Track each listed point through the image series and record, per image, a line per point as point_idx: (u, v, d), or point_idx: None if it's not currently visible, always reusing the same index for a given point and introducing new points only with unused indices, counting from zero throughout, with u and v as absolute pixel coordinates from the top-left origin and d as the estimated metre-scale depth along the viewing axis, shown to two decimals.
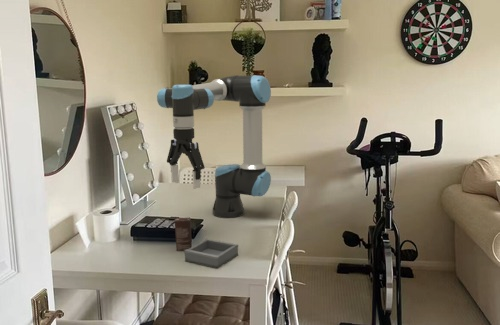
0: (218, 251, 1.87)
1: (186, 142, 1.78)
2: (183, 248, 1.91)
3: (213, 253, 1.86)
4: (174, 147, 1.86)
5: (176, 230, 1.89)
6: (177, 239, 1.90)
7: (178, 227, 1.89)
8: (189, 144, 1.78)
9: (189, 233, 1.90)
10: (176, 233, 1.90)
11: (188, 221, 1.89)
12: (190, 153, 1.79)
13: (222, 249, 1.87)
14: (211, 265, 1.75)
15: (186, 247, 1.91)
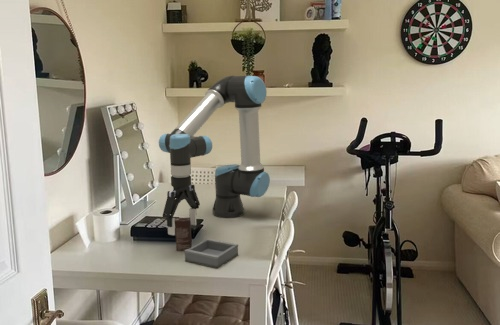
0: (218, 251, 1.87)
1: None
2: (183, 248, 1.91)
3: (213, 253, 1.86)
4: (190, 192, 1.94)
5: (176, 230, 1.89)
6: (177, 239, 1.90)
7: (178, 227, 1.89)
8: None
9: (189, 233, 1.90)
10: (176, 233, 1.90)
11: (188, 221, 1.89)
12: (174, 200, 1.86)
13: (222, 249, 1.87)
14: (211, 265, 1.75)
15: (186, 247, 1.91)
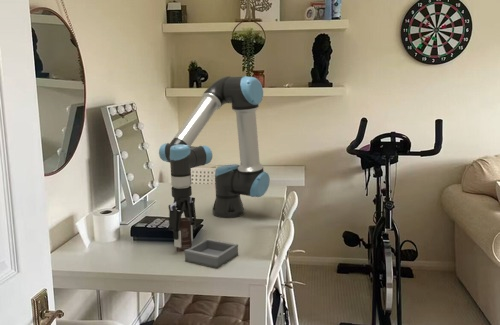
0: (218, 251, 1.87)
1: None
2: (183, 248, 1.91)
3: (213, 253, 1.86)
4: (190, 205, 1.94)
5: None
6: None
7: None
8: None
9: (189, 233, 1.90)
10: None
11: (188, 221, 1.89)
12: (176, 212, 1.88)
13: (222, 249, 1.87)
14: (211, 265, 1.75)
15: (186, 247, 1.91)
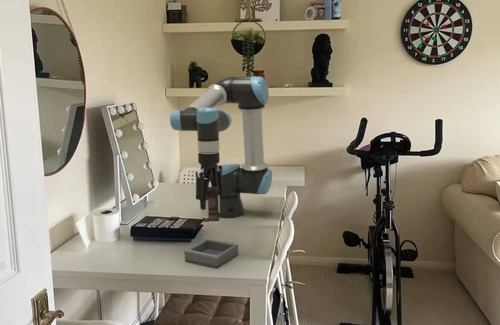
0: (218, 251, 1.87)
1: None
2: (209, 219, 1.78)
3: (213, 253, 1.86)
4: (216, 173, 1.82)
5: None
6: None
7: None
8: None
9: (216, 203, 1.77)
10: None
11: (215, 190, 1.76)
12: (203, 180, 1.75)
13: (222, 249, 1.87)
14: (211, 265, 1.75)
15: (213, 218, 1.78)
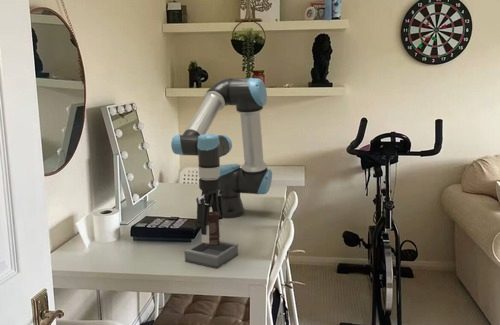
0: (218, 251, 1.87)
1: None
2: (210, 244, 1.80)
3: (213, 253, 1.86)
4: (217, 198, 1.84)
5: None
6: None
7: None
8: None
9: (217, 228, 1.79)
10: None
11: (216, 215, 1.78)
12: (204, 206, 1.77)
13: (222, 249, 1.87)
14: (211, 265, 1.75)
15: (214, 243, 1.80)
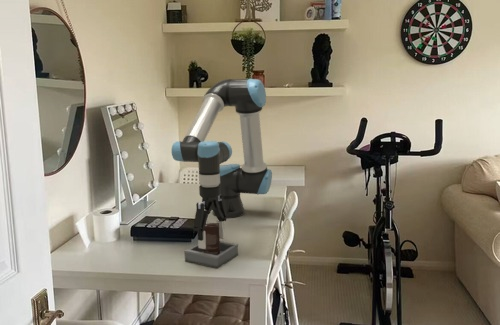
0: None
1: None
2: None
3: None
4: (218, 202, 1.84)
5: None
6: None
7: (206, 233, 1.79)
8: None
9: (218, 240, 1.80)
10: None
11: (217, 227, 1.79)
12: (203, 212, 1.76)
13: (222, 249, 1.87)
14: (211, 265, 1.75)
15: None
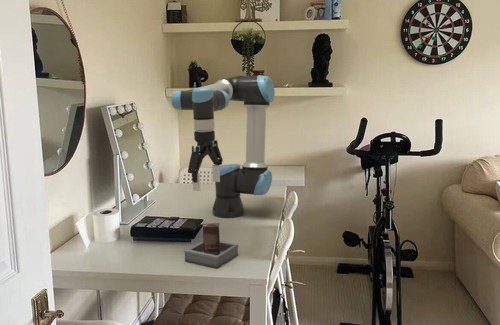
0: None
1: None
2: None
3: None
4: (213, 148, 1.90)
5: (204, 236, 1.80)
6: (205, 246, 1.80)
7: (206, 233, 1.80)
8: None
9: (218, 240, 1.80)
10: (204, 239, 1.80)
11: (217, 227, 1.79)
12: (198, 156, 1.82)
13: (222, 249, 1.87)
14: (211, 265, 1.75)
15: None
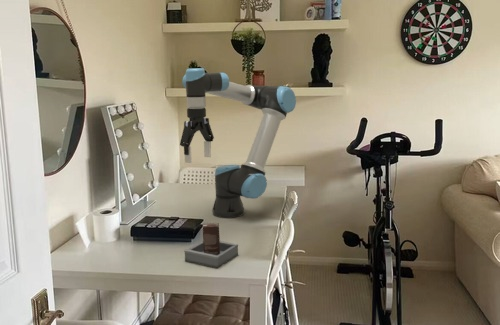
0: None
1: None
2: None
3: None
4: (205, 125, 2.06)
5: (204, 236, 1.80)
6: (205, 246, 1.80)
7: (206, 233, 1.80)
8: None
9: (218, 240, 1.80)
10: (204, 239, 1.80)
11: (217, 227, 1.79)
12: (190, 130, 1.97)
13: (222, 249, 1.87)
14: (211, 265, 1.75)
15: None
